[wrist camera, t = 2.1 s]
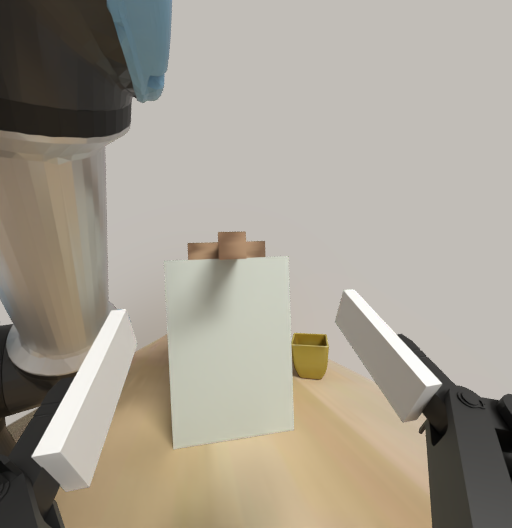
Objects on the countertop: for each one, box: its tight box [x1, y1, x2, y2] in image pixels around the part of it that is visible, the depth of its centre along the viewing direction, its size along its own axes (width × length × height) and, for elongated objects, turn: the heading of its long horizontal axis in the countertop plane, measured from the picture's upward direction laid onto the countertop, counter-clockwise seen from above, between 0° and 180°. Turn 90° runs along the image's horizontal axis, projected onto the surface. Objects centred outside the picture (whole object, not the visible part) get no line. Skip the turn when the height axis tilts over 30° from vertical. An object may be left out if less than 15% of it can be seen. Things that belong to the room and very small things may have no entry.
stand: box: [164, 256, 294, 449], centre depth 42 cm, size 20×10×30 cm, turn 99°
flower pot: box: [291, 333, 329, 379], centre depth 58 cm, size 9×9×9 cm
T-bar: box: [188, 232, 265, 260], centre depth 35 cm, size 14×21×3 cm, turn 9°
